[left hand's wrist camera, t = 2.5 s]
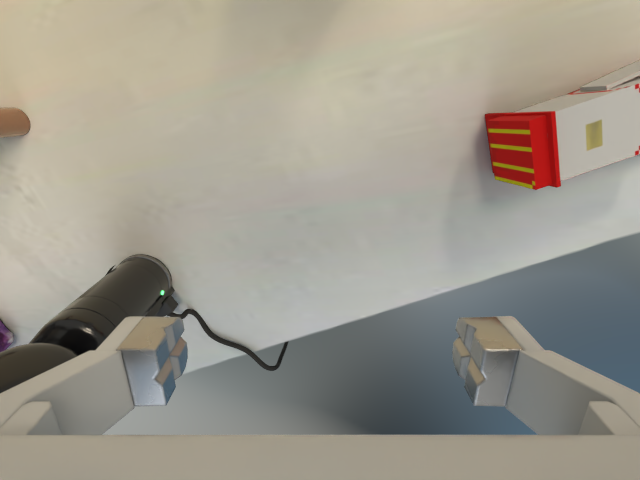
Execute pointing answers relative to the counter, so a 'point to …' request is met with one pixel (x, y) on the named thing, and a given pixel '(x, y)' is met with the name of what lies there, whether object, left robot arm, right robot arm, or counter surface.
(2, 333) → the figurine
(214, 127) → the counter surface
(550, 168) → the toy
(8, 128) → the bottle
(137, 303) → the right robot arm
